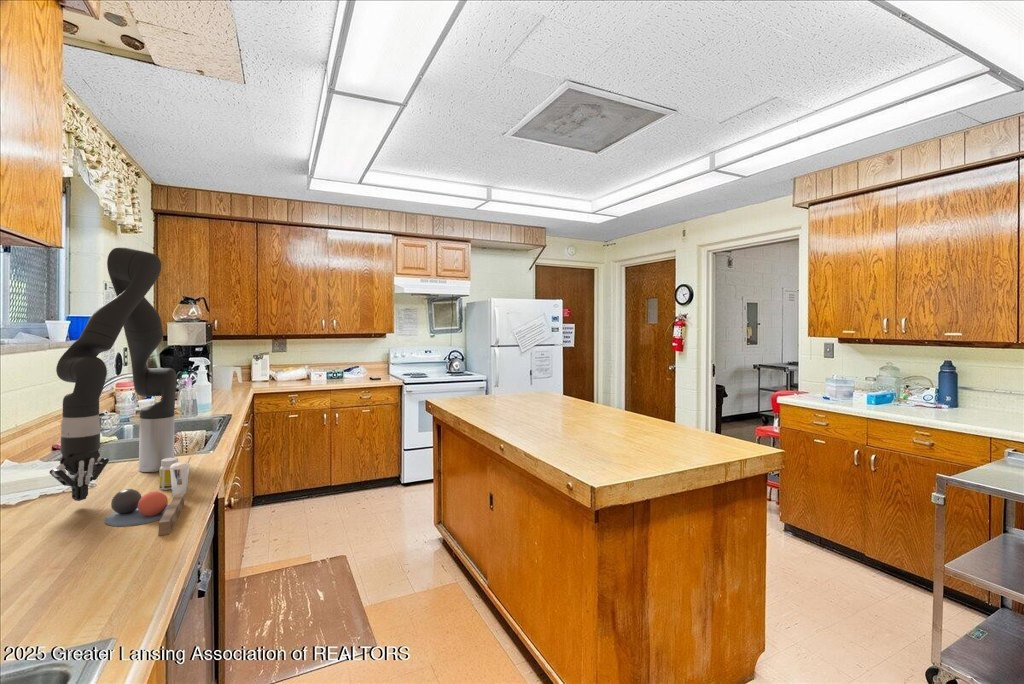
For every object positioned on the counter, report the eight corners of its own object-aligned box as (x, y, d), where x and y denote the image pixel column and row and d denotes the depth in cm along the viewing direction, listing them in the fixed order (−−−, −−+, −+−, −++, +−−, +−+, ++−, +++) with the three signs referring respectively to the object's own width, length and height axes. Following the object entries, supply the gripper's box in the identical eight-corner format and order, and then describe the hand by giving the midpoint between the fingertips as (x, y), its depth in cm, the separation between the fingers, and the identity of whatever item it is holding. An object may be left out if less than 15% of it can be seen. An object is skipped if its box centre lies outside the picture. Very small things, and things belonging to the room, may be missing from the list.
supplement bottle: (183, 485, 141) (183, 457, 141) (170, 490, 136) (170, 461, 136) (168, 484, 142) (168, 456, 141) (155, 489, 137) (155, 460, 137)
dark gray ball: (126, 515, 122) (112, 496, 121) (150, 500, 124) (136, 481, 123) (116, 522, 116) (100, 502, 115) (141, 506, 118) (126, 486, 117)
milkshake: (195, 492, 136) (196, 457, 136) (177, 498, 131) (177, 462, 130) (184, 490, 137) (184, 455, 137) (165, 496, 132) (166, 460, 132)
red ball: (169, 514, 121) (147, 507, 122) (176, 492, 121) (155, 485, 122) (150, 523, 115) (128, 515, 116) (158, 499, 115) (136, 492, 116)
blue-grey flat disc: (128, 505, 125) (128, 504, 125) (186, 504, 127) (186, 503, 127) (89, 527, 111) (89, 526, 111) (155, 525, 113) (155, 524, 113)
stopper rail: (175, 505, 126) (175, 494, 125) (184, 504, 126) (184, 493, 126) (158, 535, 108) (158, 522, 108) (169, 534, 108) (169, 521, 108)
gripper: (63, 439, 115) (63, 510, 115) (118, 429, 128) (117, 492, 128) (39, 437, 116) (38, 507, 117) (96, 427, 129) (95, 490, 130)
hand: (80, 499), depth 122 cm, fingers closed
